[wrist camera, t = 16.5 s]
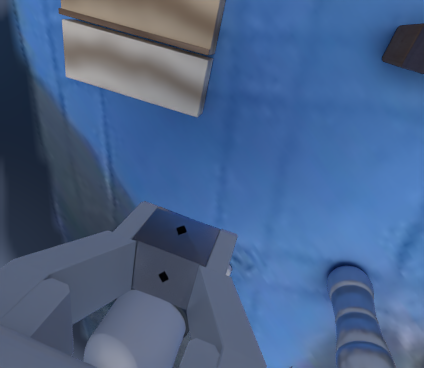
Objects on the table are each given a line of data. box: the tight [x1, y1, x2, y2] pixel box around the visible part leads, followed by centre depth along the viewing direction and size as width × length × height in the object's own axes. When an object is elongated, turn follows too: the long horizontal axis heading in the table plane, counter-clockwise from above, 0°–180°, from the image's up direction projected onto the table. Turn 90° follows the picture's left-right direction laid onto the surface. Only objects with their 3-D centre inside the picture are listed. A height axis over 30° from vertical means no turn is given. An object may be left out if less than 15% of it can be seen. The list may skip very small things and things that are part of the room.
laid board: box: [59, 0, 226, 55], centre depth 33 cm, size 7×20×3 cm, turn 77°
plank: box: [62, 19, 213, 117], centre depth 37 cm, size 7×20×2 cm, turn 77°
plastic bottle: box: [327, 266, 396, 368], centre depth 37 cm, size 6×7×20 cm
